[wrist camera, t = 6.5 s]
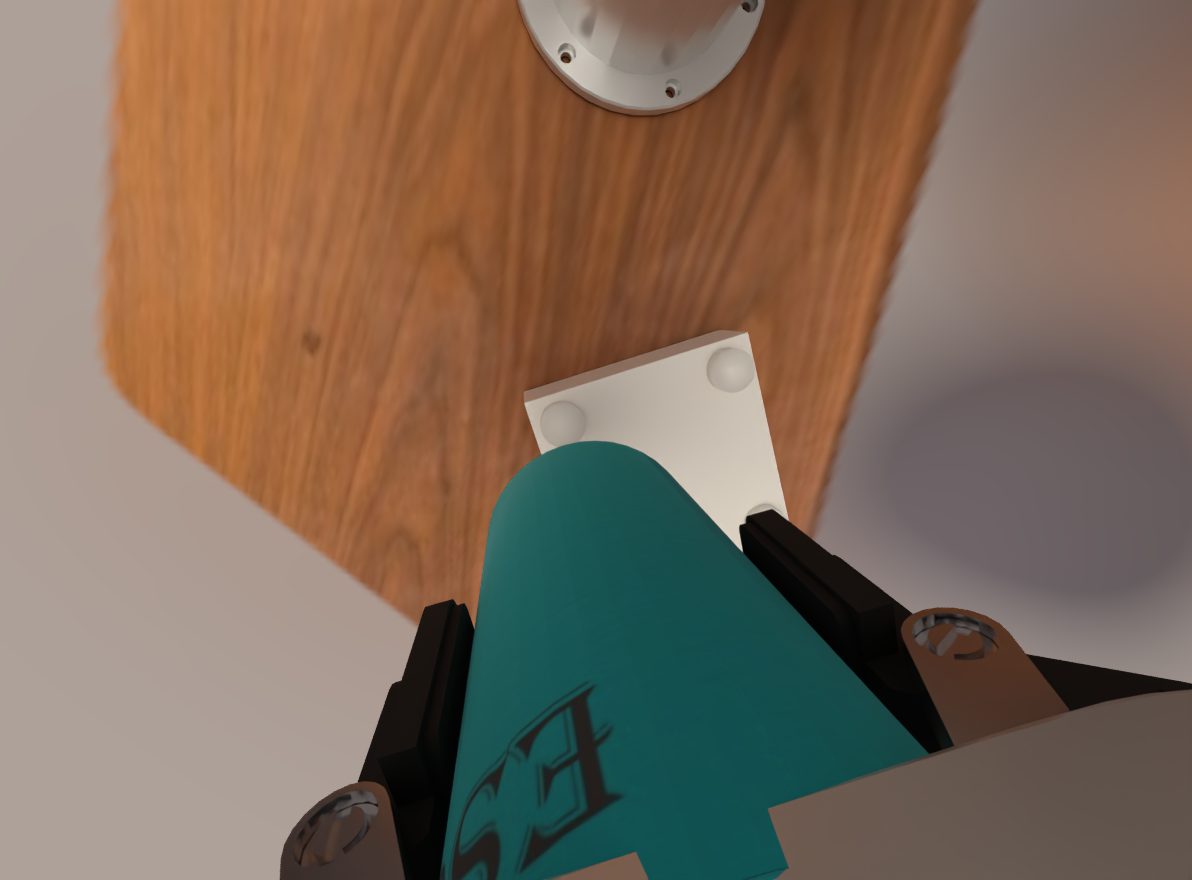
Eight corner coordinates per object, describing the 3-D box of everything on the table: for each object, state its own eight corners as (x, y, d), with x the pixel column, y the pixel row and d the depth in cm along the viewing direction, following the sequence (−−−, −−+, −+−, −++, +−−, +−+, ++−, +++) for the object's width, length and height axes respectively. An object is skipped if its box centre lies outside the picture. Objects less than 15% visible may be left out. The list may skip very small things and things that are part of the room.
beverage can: (458, 557, 17) (92, 2037, 2) (546, 393, 16) (788, 1127, 2) (618, 626, 18) (1004, 1858, 4) (707, 478, 17) (1634, 1304, 3)
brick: (523, 391, 31) (524, 406, 27) (720, 329, 32) (755, 333, 27) (584, 572, 34) (594, 615, 30) (762, 512, 35) (800, 544, 30)
